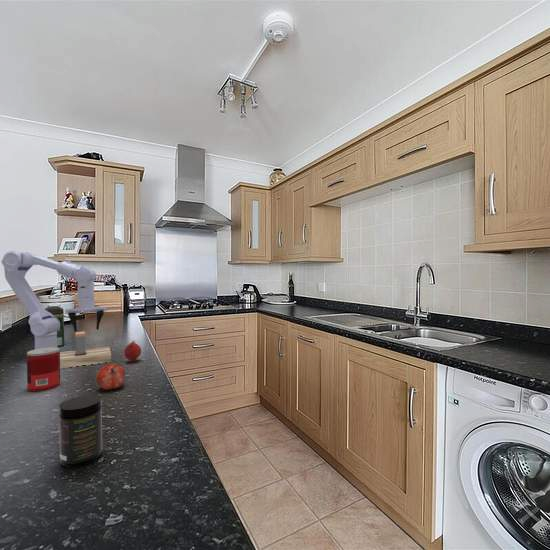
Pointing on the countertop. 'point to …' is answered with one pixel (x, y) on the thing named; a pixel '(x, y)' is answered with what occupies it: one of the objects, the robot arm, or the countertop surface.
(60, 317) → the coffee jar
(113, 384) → the pomegranate
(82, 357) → the beige wooden board
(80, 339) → the orange brown rectangular block
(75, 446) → the supplement container
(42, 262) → the robot arm
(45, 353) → the canned food
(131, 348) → the onion
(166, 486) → the countertop surface
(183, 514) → the countertop surface
